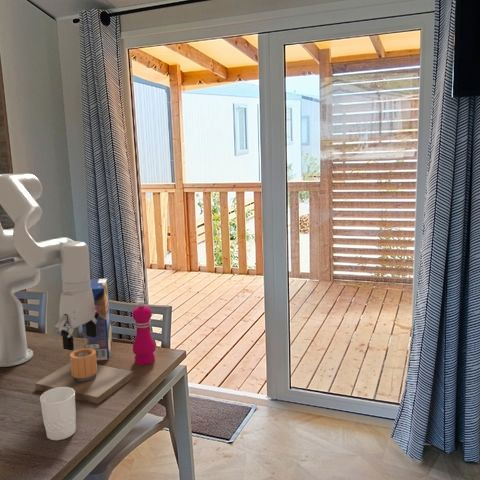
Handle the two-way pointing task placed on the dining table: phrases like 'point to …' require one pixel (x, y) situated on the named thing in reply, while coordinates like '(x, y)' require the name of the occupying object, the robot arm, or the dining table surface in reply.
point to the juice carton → (100, 321)
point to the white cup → (59, 412)
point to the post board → (87, 382)
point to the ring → (83, 363)
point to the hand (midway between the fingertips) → (80, 342)
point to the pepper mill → (143, 336)
